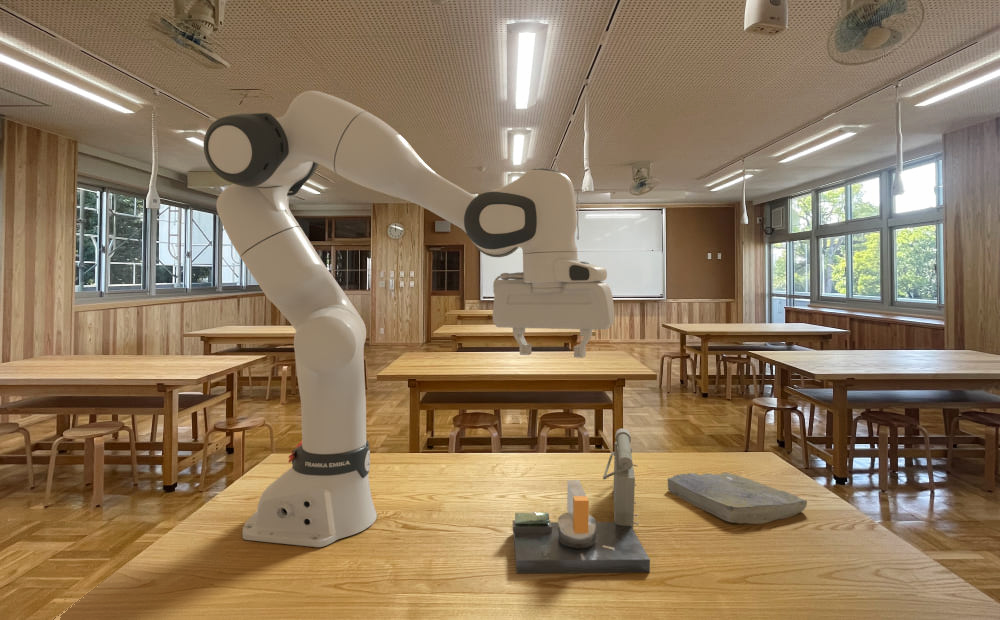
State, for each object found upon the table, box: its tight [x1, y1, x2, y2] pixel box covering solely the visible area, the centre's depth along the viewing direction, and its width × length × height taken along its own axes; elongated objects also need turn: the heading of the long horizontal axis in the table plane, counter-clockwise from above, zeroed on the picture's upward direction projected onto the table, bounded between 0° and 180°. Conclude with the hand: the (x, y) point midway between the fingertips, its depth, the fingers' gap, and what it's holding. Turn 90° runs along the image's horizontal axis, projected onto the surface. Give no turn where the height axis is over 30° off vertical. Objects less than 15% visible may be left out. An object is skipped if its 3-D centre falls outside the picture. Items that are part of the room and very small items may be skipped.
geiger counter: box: [602, 428, 639, 530], centre depth 100 cm, size 14×6×25 cm
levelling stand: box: [512, 511, 651, 574], centre depth 83 cm, size 20×12×5 cm, turn 91°
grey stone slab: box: [667, 472, 808, 525], centre depth 102 cm, size 20×5×17 cm
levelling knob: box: [557, 479, 597, 548], centre depth 83 cm, size 8×6×8 cm
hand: (552, 355), depth 85 cm, fingers open, 8 cm apart
